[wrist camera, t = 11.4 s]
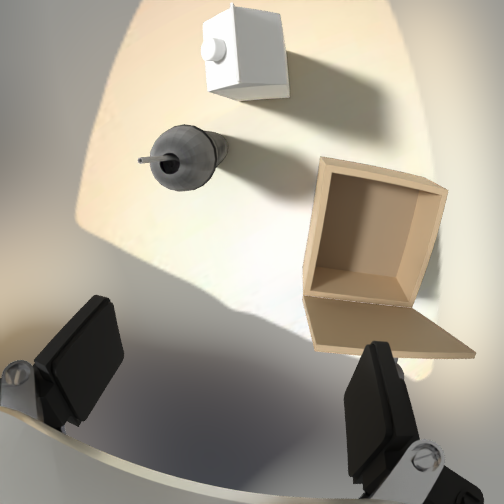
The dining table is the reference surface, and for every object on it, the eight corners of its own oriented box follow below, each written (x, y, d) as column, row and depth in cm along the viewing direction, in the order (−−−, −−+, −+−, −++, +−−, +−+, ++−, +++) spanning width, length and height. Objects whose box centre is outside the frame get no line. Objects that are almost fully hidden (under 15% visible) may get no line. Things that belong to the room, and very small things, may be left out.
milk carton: (286, 50, 34) (277, -3, 16) (290, 98, 36) (285, 77, 19) (233, 54, 35) (187, 10, 18) (237, 101, 38) (192, 87, 20)
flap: (316, 344, 22) (300, 409, 23) (476, 352, 21) (454, 409, 22) (303, 295, 39) (295, 339, 40) (412, 307, 38) (401, 349, 38)
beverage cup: (206, 182, 43) (143, 230, 25) (178, 142, 41) (97, 163, 23) (247, 155, 41) (207, 184, 23) (219, 113, 39) (156, 109, 21)
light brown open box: (320, 156, 39) (325, 164, 32) (424, 177, 38) (448, 190, 31) (302, 267, 46) (303, 294, 39) (397, 279, 45) (411, 307, 38)
